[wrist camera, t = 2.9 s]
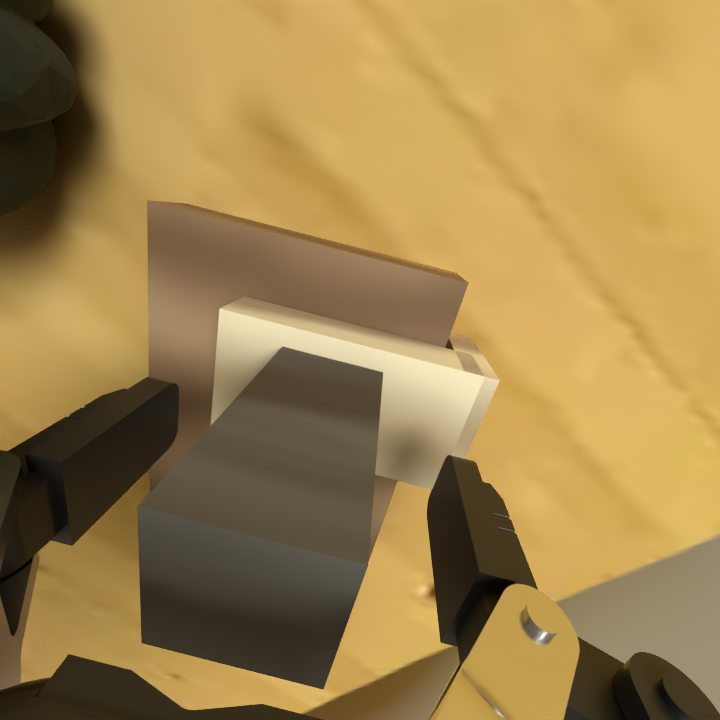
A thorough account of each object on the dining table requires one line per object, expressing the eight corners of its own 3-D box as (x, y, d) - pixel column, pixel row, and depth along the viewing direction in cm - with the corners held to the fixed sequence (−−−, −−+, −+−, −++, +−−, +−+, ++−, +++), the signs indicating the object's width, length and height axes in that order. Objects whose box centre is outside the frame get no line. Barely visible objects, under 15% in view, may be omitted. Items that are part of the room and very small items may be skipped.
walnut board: (186, 203, 15) (145, 200, 12) (457, 273, 15) (468, 283, 12) (173, 605, 25) (150, 645, 23) (329, 645, 25) (322, 689, 23)
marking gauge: (265, 285, 15) (-21, 426, 5) (472, 339, 15) (642, 596, 5) (253, 383, 17) (30, 636, 7) (436, 430, 17) (501, 757, 7)
